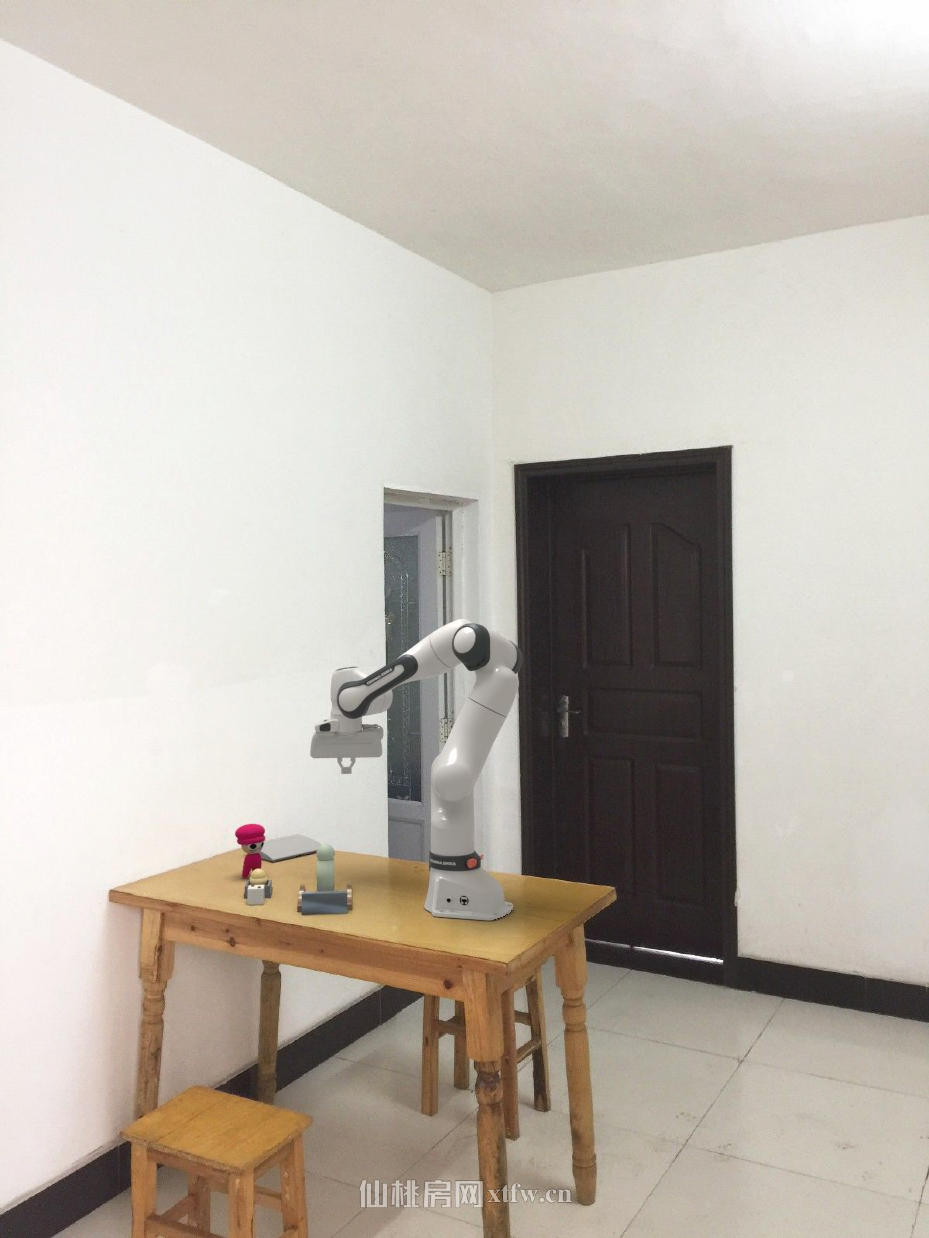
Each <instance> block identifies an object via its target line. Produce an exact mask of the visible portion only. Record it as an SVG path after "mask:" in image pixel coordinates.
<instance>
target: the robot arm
mask: <svg viewBox="0 0 929 1238" xmlns="http://www.w3.org/2000/svg"><path fill="white" fill-rule="evenodd" d="M460 664H463V665H464V667H465V668H466V670H467V671H469V672H474V673H475V683H474V685H473V687H472V689H471V691H470V693H469V695H468V697H467V699H466V700H465V702H464V703H463V707H462V708H461V710H460V712H459V714H458V716H457V718H456V720H455V722H454V724H453V725H452V728H451V731H450V733H449V735H448V738H446V742H445V744H444V746H443V748H442V750H441V751H440V753H439V754H438V755H436V757H435V758H434V760H433V762H432V764H431V769H430V850H429V851H428V852H429V853H428V871H429V879H428V881H429V882H428V889H427V894H426V898H425V902H424V909H425V910H426V911H428V912H430V913H431V915H432V916H433V917H438V918H440V917H441V918H450V919H451V918H454V919H463V920H465V919H466V920H477V921H478V920H479V921H495V920H494V919H496V920H498V919H497V918H500V917H502V918H504V917H503V916H505V915H506V914H508V915H509V913H510V912H511V910H514V904H513V903H512V902H509V901H505V900H506V899H505V893H504V888H503V886H502V883H501V882H499V880H497V879H496V878H495V877H493V875H492V874H490V873H489V872H488V871H487V870H486V869H485V868H483V867H482V862H481V861H482V860H484V854H481V855H479V854H478V853H477V851H476V850H475V792H474V791H475V790H474V789H475V786H476V784H477V782H478V779H479V777H480V774H481V772H482V770H483V768H484V766H485V764H486V761H487V759H488V757H489V755H490V752H491V750H492V747H493V745H494V743H495V741H496V739H497V737H498V735H499V733H500V731H501V729H502V727H503V726H504V723H505V721H506V719H507V718H508V716H509V713H510V712H511V709H512V707H513V705H514V702H515V698H516V695H517V693H518V689H519V687H520V686H519V684H520V681H519V677H518V676H517V674H518V673H519V672H520V670H521V668H522V665H523V654H522V651H521V649H520V648H519V647H518V645H516V643H514V641H512V640H510V639H507V638H506V637H504V636H503V635H501V634H500V633H499V632H497V631H495V630H494V629H491V628H488V627H486V626H484V625H483V624H479V623H475V622H472V621H471V620H469V619H465V618H458V619H456V620H453V621H451V622H449V623H446V624H444V625H443V626H441V627H439V628H437V629H436V630H434V631H433V632H431V633H430V634H428V635H427V636H425V637H424V638H423V639H421V640H420V641H419V642H417V643H416V644H415V645H413V646H412V647H411V648H409V649H408V650H407V651H405V652H403V653H402V654H401V655H399V657H396V659H394V660H392V661H391V662H389V663H387V664H385V665H384V666H382V667H380V668H379V669H378V670H375V671H374V672H373V673H371V674H367V673H366V672H365V671H363V670H362V669H361V668H360V667H358V666H348V667H342V668H341V667H340V668H337V669H336V670H334V672H333V673H332V675H331V676H332V677H331V681H330V702H331V711H330V717H329V718H328V719H324V720H321V721H318V722H317V723H315V724H314V731H315V732H314V733H313V735H312V737H311V742H310V752H309V755H310V757H311V758H312V759H336V760H337V764H338V765H339V767H340V769H341V770H340V774H341V775H351V774H352V768H353V767H354V765H355V763H356V759H357V758H358V759H359V758H361V759H362V758H363V759H365V758H380V757H382V755H383V744H382V740H383V738H384V729H383V727H382V726H381V725H379V724H377V723H375V724H368V723H365V724H364V723H363V717H365V716H372V715H377V714H381V713H384V712H387V711H388V710H389V709H390V708H391V707H392V704H393V702H394V701H393V700H394V693H393V689H395V688H396V687H398V686H401V685H404V684H407V683H410V682H414V681H422V680H427V679H432V678H436V677H439V676H441V675H443V674H446V673H448V672H450V671H451V670H453V669H455V668H456V667H457V666H459V665H460ZM349 758H350V762H351V763H350V765H349V766H344V765H343V763H342V762H343V759H349ZM511 913H512V912H511ZM511 913H510V914H511ZM506 916H507V915H506ZM506 916H505V917H506ZM500 919H501V918H500Z"/></svg>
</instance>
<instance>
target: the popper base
mask: <svg viewBox="0 0 929 1238" xmlns="http://www.w3.org/2000/svg"><path fill="white" fill-rule="evenodd" d="M272 884H273V883H272V879H267V885H265V899H271V898H272V894H273V888H274V887H273V886H272ZM249 885H250V879H249V880H246V882H245V885H244V892H243V899H244V900H245V899H248V897H247V889H248V886H249Z"/></svg>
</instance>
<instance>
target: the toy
mask: <svg viewBox="0 0 929 1238" xmlns="http://www.w3.org/2000/svg"><path fill="white" fill-rule="evenodd" d="M265 833H266V829H265V827H264V826H263V825H261V824H258V823H247V824H244V825H240V826H239V827H238V828H237V829H236V830H235V832H234V836H235V838H236V843H237V844H238V845H241V846H240V847H241V849H242V851H243V852H244V853H246V855H245V857H244V860H243V863H242V864H243V866H242V870H241V871H242V872H241V878H242V879H247V878H248V877H250V875H251V873H252V872H253V871H254V870H255V869H262V863H263V862H262V860H263V859H262V857H261V855H260V853H258V852H260V851H261V850H262V848H263V845H264V841H266V835H264V834H265Z"/></svg>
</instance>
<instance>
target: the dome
mask: <svg viewBox="0 0 929 1238" xmlns="http://www.w3.org/2000/svg"><path fill="white" fill-rule="evenodd" d="M266 873H267V872H266V871H265V870H263V869H262V868H261V869H255V870H254V871H253V872H252V871H251V872H250V876H249V880H250V885H252V884H254V885H267V880H268V876H267V874H266Z"/></svg>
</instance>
